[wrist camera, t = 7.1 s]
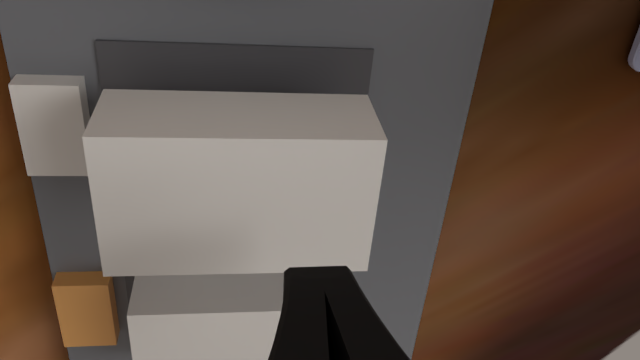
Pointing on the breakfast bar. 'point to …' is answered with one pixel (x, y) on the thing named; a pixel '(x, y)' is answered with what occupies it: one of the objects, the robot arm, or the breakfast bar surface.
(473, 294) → the breakfast bar surface
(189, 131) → the button
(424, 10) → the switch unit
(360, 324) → the robot arm
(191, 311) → the button
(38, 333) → the breakfast bar surface
